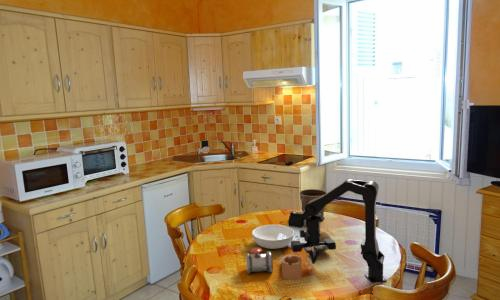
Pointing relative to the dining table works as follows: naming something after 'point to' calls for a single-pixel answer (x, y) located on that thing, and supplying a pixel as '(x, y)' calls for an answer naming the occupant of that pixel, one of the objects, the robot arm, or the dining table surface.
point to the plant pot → (311, 198)
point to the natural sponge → (324, 236)
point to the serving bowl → (272, 236)
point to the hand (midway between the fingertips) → (313, 263)
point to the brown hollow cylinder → (291, 267)
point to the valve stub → (259, 261)
